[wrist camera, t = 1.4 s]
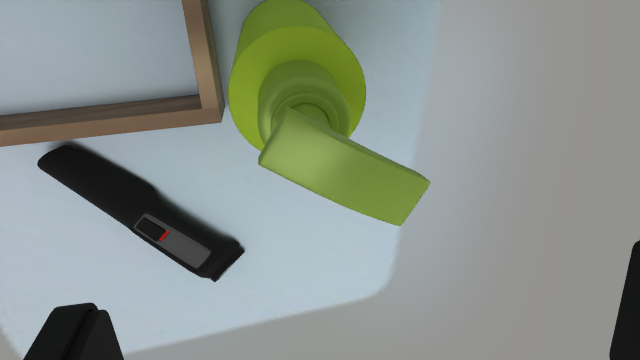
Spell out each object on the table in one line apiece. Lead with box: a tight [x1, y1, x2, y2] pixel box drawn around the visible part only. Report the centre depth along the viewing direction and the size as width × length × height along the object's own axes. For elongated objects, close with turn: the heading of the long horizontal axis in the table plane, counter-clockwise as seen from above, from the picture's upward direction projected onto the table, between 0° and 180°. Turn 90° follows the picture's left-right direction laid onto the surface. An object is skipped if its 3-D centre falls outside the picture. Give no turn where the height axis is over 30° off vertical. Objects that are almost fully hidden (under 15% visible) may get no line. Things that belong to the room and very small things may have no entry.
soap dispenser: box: [228, 0, 430, 226], centre depth 24 cm, size 6×7×20 cm
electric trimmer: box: [37, 145, 245, 282], centre depth 36 cm, size 4×16×3 cm, turn 47°
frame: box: [0, 0, 225, 147], centre depth 29 cm, size 13×18×4 cm
